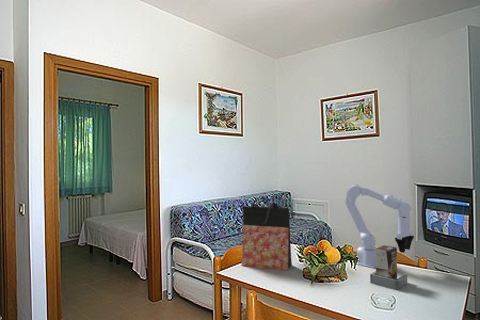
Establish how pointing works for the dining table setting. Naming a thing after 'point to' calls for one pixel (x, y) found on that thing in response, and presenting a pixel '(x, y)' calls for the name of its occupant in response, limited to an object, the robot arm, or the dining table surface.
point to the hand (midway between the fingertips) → (404, 250)
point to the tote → (388, 281)
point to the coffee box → (386, 262)
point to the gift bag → (266, 237)
